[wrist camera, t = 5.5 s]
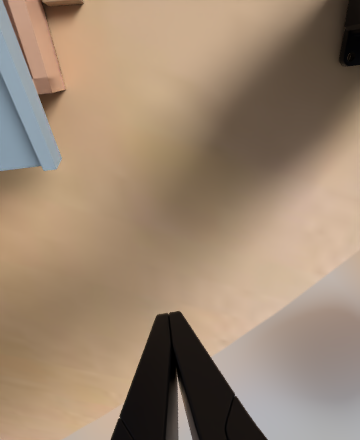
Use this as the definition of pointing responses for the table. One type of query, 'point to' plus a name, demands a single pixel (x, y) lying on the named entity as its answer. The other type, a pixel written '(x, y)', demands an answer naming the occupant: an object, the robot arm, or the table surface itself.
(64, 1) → the stand
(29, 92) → the lever
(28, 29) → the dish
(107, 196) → the table surface
